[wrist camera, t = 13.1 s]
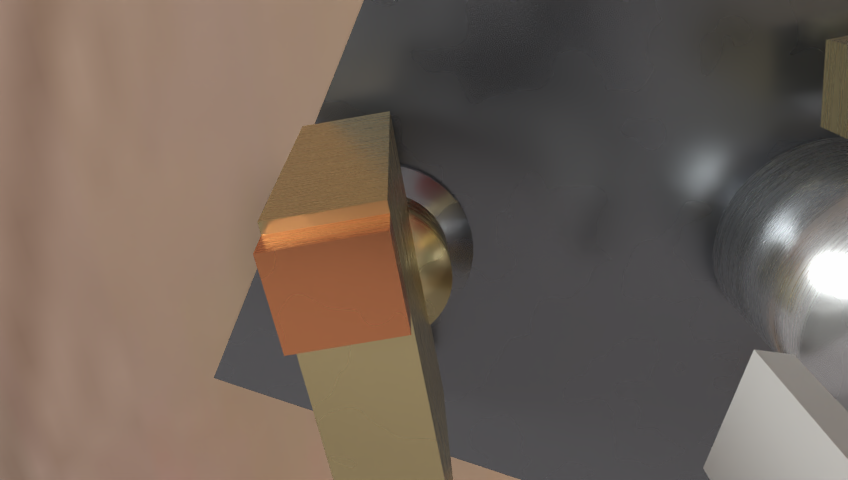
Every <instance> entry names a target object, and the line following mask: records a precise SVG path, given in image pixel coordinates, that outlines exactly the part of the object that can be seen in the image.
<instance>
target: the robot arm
mask: <svg viewBox="0 0 848 480" xmlns="http://www.w3.org/2000/svg"><path fill="white" fill-rule="evenodd" d="M703 469H704V470H705V472H706V474H707V476H708V477H709V479H710V480H848V412H847V411H846V410H845V408H844V407H843V406H842V405H841V404H840V403H839V402H838V401H837V400H836V399H835V398H834V397H833V396H832V395H831V394H830V392H829V391H828V390H827V389H826V388H825V387H824V386H823V385H822V384H821V383H820V382H819V381H818V380H817V379H816V378H815V376H814V375H813V374H812V373H811V372H810V371H809V370H808V369H807V368H806V367H805V366H804V365H803V364H802V363H801V362H800V360H799V359H798V358H797V357H796V356H795V355H794V354H786V353H778V352H770V351H762V350H753V353H752V355H751V357H750V360H749V362H748V364H747V367H746V369H745V371H744V374H743V376H742V378H741V381H740V383H739V385H738V388H737V390H736V392H735V395H734V397H733V399H732V402H731V404H730V406H729V409H728V411H727V413H726V416H725V418H724V420H723V423H722V425H721V427H720V430H719V432H718V434H717V437H716V439H715V441H714V444H713V446H712V448H711V451H710V453H709V455H708V458H707V460H706V462H705V465H704V467H703Z"/></svg>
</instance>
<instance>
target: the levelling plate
mask: <svg viewBox="0 0 848 480" xmlns="http://www.w3.org/2000/svg"><path fill="white" fill-rule="evenodd" d="M847 35H848V0H364V2H363V4H362V7H361V9H360V12H359V14H358V17H357V19H356V22H355V24H354V27H353V29H352V32H351V34H350V37H349V40H348V42H347V45H346V47H345V50H344V52H343V55H342V57H341V60H340V62H339V65H338V67H337V70H336V72H335V75H334V77H333V80H332V82H331V85H330V87H329V90H328V92H327V95H326V97H325V100H324V102H323V105H322V107H321V110H320V112H319V115H318V117H317V120H316V122H315V124H319V123H324V122H330V121H336V120H341V119H347V118H353V117H358V116H364V115H370V114H375V113H381V112H387V111H390V115H391V120H392V125H393V130H394V136H395V141H396V146H397V151H398V156H399V162H400V167H401V172H402V177H403V182H404V188H405V193H406V197H407V198H409V199H412V200H414V201H415V202H417V203H419V204H421V205H422V206H423V207H425V208H426V209H427V210H428V211H429V212H430V213H431V214H432V215H433V216H434V217H435V218H436V220H437V221H438V222H439V224H440V226H441V227H442V229H443V231H444V234H445V236H446V240H447V244H448V249H449V255H450V261H451V267H452V288H451V293H450V296H449V299H448V302H447V304H446V306H445V308H444V309H443V311H442V312H441V314H440V315H439V316H438V317H437V319H436V320H435V321H434V322H433V323H432V324H431V328H432V333H433V339H434V344H435V349H436V354H437V360H438V365H439V370H440V375H441V380H442V386H443V392H444V401H445V411H446V420H447V430H448V439H449V449H450V456H451V457H454V458H457V459H460V460H463V461H466V462H469V463H472V464H475V465H478V466H482V467H485V468H488V469H491V470H494V471H497V472H500V473H503V474H506V475H509V476H512V477H515V478H518V479H521V480H710V479H709V477H708V476H707V474H706V472H705V470H704V469H703V467H704V465H705V462H706V460H707V458H708V455H709V453H710V451H711V448H712V446H713V444H714V441H715V439H716V437H717V434H718V432H719V430H720V427H721V425H722V423H723V420H724V418H725V416H726V413H727V411H728V409H729V406H730V404H731V402H732V399H733V397H734V395H735V392H736V390H737V388H738V385H739V383H740V381H741V378H742V376H743V374H744V371H745V369H746V367H747V364H748V362H749V360H750V357H751V355H752V353H753V350H762V351H770V352H778V353H786V354H794V355H795V356H796V357H797V358H798V359H799V360H800V362H801V363H802V364H803V365H804V366H805V367H806V368H807V369H808V370H809V371H810V372H811V373H812V374H813V375H814V376H815V378H816V379H817V380H818V381H819V382H820V383H821V384H822V385H823V386H824V387H825V388H826V389H827V390H828V391H829V392H830V394H831V395H832V396H833V397H834V398H835V399H836V400H837V401H838V402H839V403H840V404H841V405H842V406H843V407H844V408H845V410H846V411H847V412H848V139H846V138H844V137H842V136H840V135H837V134H835V133H833V132H831V131H829V130H827V129H824V128H822V127H821V110H822V93H823V77H824V60H825V43H826V39H831V38H836V37H842V36H847ZM214 378H216V379H219V380H222V381H225V382H228V383H231V384H234V385H237V386H240V387H243V388H246V389H249V390H252V391H255V392H258V393H261V394H264V395H267V396H270V397H273V398H276V399H279V400H282V401H285V402H288V403H291V404H294V405H297V406H300V407H303V408H306V409H309V410H312V411H313V409H312V405H311V402H310V399H309V395H308V392H307V388H306V385H305V382H304V378H303V375H302V371H301V368H300V365H299V361H298V358H297V354H293V355H287V356H284V354H283V351H282V347H281V344H280V341H279V337H278V334H277V331H276V327H275V324H274V321H273V318H272V314H271V311H270V308H269V304H268V301H267V298H266V295H265V291H264V288H263V285H262V281H261V278H260V275H259V272H258V268H257V271H256V273H255V276H254V278H253V281H252V283H251V286H250V288H249V291H248V294H247V296H246V299H245V301H244V304H243V306H242V309H241V311H240V314H239V316H238V319H237V321H236V324H235V326H234V329H233V331H232V334H231V336H230V339H229V341H228V344H227V346H226V349H225V351H224V354H223V356H222V359H221V361H220V364H219V366H218V369H217V371H216V374H215V376H214Z"/></svg>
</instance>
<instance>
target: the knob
mask: <svg viewBox="0 0 848 480" xmlns="http://www.w3.org/2000/svg"><path fill="white" fill-rule="evenodd" d="M258 225H259V229H260V232H261V237H260V240H259V242H258V244H257V247H256V249H255V251H254V253H253V255H254V258H255V262H256V265H257V268H258V272H259V275H260V278H261V281H262V285H263V288H264V291H265V295H266V298H267V301H268V304H269V308H270V311H271V314H272V318H273V321H274V324H275V327H276V331H277V334H278V337H279V341H280V344H281V347H282V351H283V354H284V356H287V355H293V354H297V358H298V361H299V365H300V368H301V371H302V375H303V378H304V382H305V385H306V388H307V392H308V395H309V399H310V402H311V405H312V409H313V412H314V415H315V419H316V422H317V426H318V429H319V432H320V436H321V439H322V443H323V446H324V449H325V453H326V456H327V460H328V463H329V466H330V470H331V473H332V477H333V480H453V477H452V468H451V458H450V449H449V439H448V430H447V420H446V411H445V401H444V392H443V386H442V380H441V375H440V370H439V365H438V360H437V354H436V349H435V344H434V339H433V333H432V328H431V324H432V323H433V322H434V321H435V320H436V319H437V317H438V316H439V315H440V314H441V312H442V311H443V309H444V308H445V306H446V304H447V302H448V299H449V296H450V293H451V288H452V267H451V261H450V255H449V249H448V244H447V240H446V236H445V234H444V231H443V229H442V227H441V226H440V224H439V222H438V221H437V220H436V218H435V217H434V216H433V215H432V214H431V213H430V212H429V211H428V210H427V209H426V208H425V207H423V206H422V205H421V204H419V203H417V202H415V201H414V200H412V199H409V198H407V197H406V193H405V188H404V182H403V177H402V172H401V167H400V162H399V156H398V151H397V146H396V141H395V136H394V130H393V125H392V120H391V115H390V111H387V112H381V113H375V114H370V115H364V116H358V117H353V118H347V119H341V120H336V121H330V122H324V123H319V124H313V125H307V126H303V127H302V129H301V131H300V133H299V135H298V137H297V139H296V141H295V144H294V146H293V148H292V150H291V152H290V154H289V156H288V158H287V161H286V163H285V165H284V167H283V169H282V171H281V173H280V175H279V178H278V180H277V182H276V184H275V186H274V188H273V190H272V192H271V195H270V197H269V199H268V201H267V203H266V205H265V207H264V209H263V212H262V214H261V216H260V218H259V220H258Z"/></svg>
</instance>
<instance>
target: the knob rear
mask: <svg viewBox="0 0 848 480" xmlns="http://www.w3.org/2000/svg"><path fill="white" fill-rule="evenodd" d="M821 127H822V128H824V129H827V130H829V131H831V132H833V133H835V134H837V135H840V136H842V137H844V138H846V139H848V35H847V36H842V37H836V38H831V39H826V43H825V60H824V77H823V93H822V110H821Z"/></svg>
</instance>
